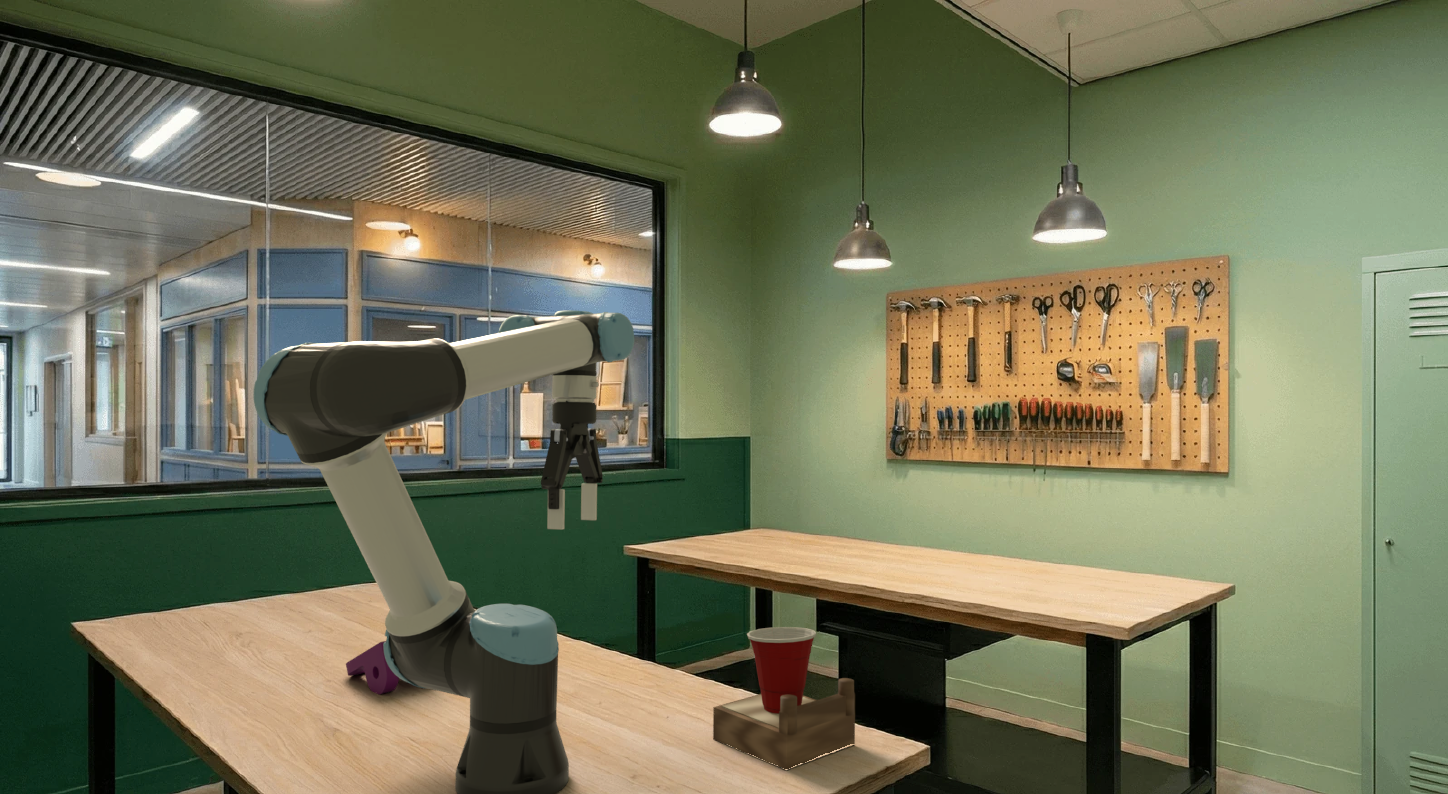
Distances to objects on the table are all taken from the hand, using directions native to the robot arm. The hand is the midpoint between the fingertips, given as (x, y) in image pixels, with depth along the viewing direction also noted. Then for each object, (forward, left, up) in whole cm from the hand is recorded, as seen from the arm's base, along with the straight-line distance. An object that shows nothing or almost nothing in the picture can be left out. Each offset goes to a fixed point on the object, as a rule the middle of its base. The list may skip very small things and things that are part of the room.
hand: (573, 524), depth 153 cm
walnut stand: (-5, -38, -32) cm, 50 cm away
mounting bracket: (+5, +40, -32) cm, 52 cm away
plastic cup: (-5, -38, -27) cm, 46 cm away
